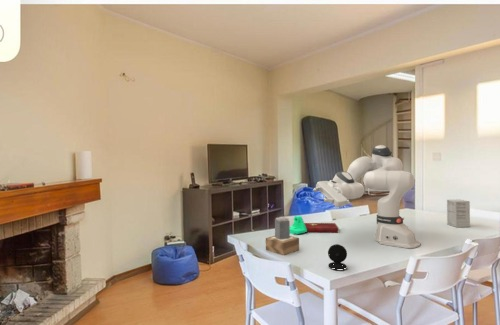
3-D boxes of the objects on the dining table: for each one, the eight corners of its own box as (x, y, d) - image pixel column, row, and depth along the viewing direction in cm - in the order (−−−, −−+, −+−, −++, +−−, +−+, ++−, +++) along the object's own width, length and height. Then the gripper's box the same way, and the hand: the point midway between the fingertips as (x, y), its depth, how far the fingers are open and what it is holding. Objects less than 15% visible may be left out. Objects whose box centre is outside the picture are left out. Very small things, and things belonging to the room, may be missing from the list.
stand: (299, 249, 154) (299, 237, 154) (283, 255, 146) (283, 242, 145) (281, 244, 163) (281, 233, 162) (265, 249, 154) (265, 237, 154)
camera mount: (284, 231, 191) (284, 215, 191) (293, 230, 196) (293, 214, 195) (297, 235, 181) (297, 218, 181) (306, 233, 186) (306, 217, 185)
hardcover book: (338, 233, 185) (338, 226, 185) (303, 233, 188) (303, 226, 188) (335, 229, 197) (335, 222, 197) (302, 228, 200) (302, 222, 200)
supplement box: (470, 227, 194) (470, 201, 194) (455, 227, 194) (455, 201, 194) (460, 224, 204) (460, 199, 203) (446, 224, 204) (446, 199, 204)
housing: (284, 235, 158) (284, 216, 157) (289, 238, 152) (289, 218, 152) (275, 237, 156) (274, 217, 155) (279, 239, 150) (279, 219, 150)
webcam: (346, 265, 131) (346, 242, 131) (347, 271, 124) (347, 247, 123) (328, 264, 133) (327, 241, 133) (328, 270, 126) (327, 246, 125)
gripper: (350, 208, 159) (329, 211, 153) (326, 187, 175) (307, 189, 169) (353, 198, 156) (332, 201, 150) (329, 178, 172) (310, 180, 167)
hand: (319, 195), depth 160 cm, fingers open, 8 cm apart
